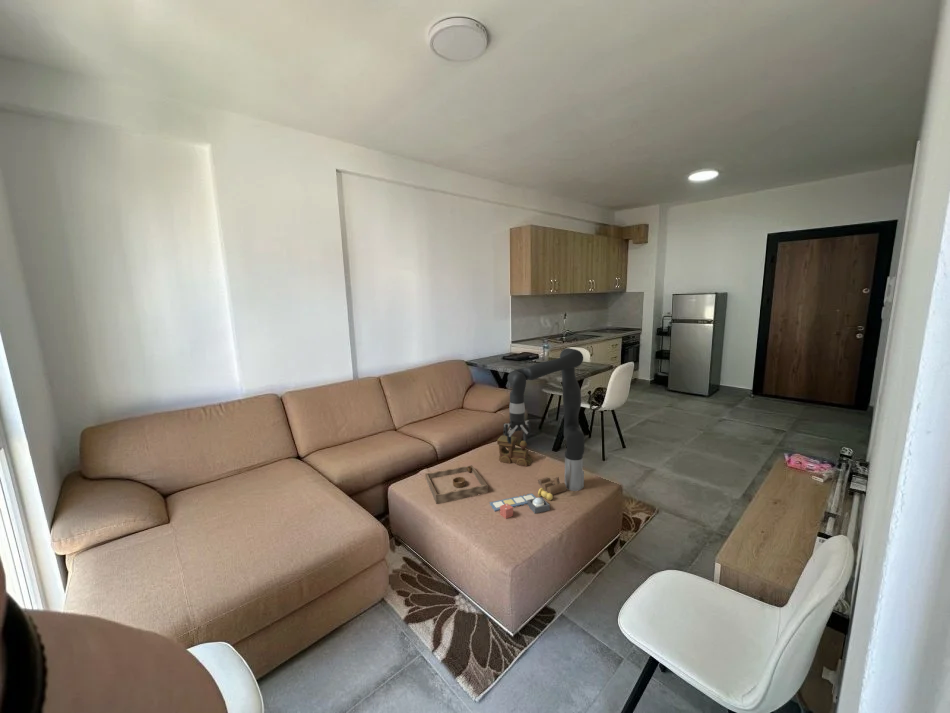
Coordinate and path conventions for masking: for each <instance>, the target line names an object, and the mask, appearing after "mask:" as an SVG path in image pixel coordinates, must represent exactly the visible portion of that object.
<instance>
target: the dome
mask: <svg viewBox="0 0 950 713" xmlns="http://www.w3.org/2000/svg"><path fill="white" fill-rule="evenodd" d="M533 505H534V506H535V507H538V506H543V505H544V501H543V500H542V499H541V498H539V497H536V498H535V499H534V500H533Z"/></svg>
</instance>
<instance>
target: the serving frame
mask: <svg viewBox="0 0 950 713" xmlns="http://www.w3.org/2000/svg"><path fill="white" fill-rule="evenodd" d="M468 466H469V465H466V466H461V467H460V466H459V467H455V468H449V469H444V470H443V469H442V470H438V471H433V472H426V473H424V474H425V475H424V476H425V477H424V478H425V481H426V483H427V486H428V488H429V490H430V493H431V495H432V497H433V500H434V503H435V504H436V505H439V504H444V503H449V502H452V501H453V502H454V501H457V500H462V499H468V498H471V497H475V496H474V495H476V496H479V495H478V494H480V495H483V494H482V493H485V494H488V493H489V485H488V484H487V482H486V481H485V479H484V478H483V477H482V476H481V475H480V473H479V472H478V471H477V470H476V469H475V467H474V466H473V465H470V466H471V467H472V471H471V473H472V475H473V476H474V477H475V479H476V480H477V481H478V483H479V484H481V485H477V486H472V487H467V488H461V489H458V490H456V489H455V490H456V491H455V490H453V491H447V492H442V493H438V492H437V491H436V488H435V487H434V485H433V483H432V481H431V480H432V479H435V478H436V479H437V478H441V477H446V476H447V477H448V476H452V475H456V474H462V473H466V472H468V469H467V467H468ZM487 492H488V493H487ZM470 496H471V497H470Z"/></svg>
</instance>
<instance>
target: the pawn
mask: <svg viewBox="0 0 950 713" xmlns="http://www.w3.org/2000/svg"><path fill="white" fill-rule="evenodd" d="M537 496H538V498H539V497H542V498H543V499H546V500H548V501H551V500H553V499H554V498H553V496H554V495H552V494H551V493H548V492H547V490H544V489H543V488H542V487H540V488H539V489H538V491H537Z"/></svg>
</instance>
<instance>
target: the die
mask: <svg viewBox="0 0 950 713" xmlns="http://www.w3.org/2000/svg"><path fill="white" fill-rule="evenodd" d="M499 515H500V516H501V517H502V518H504V519H505V520H507V519H508V518H511V517H513V516H514V508H513V507H512V506H510V505H509V504H504V505H502V506H500V511H499Z"/></svg>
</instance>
